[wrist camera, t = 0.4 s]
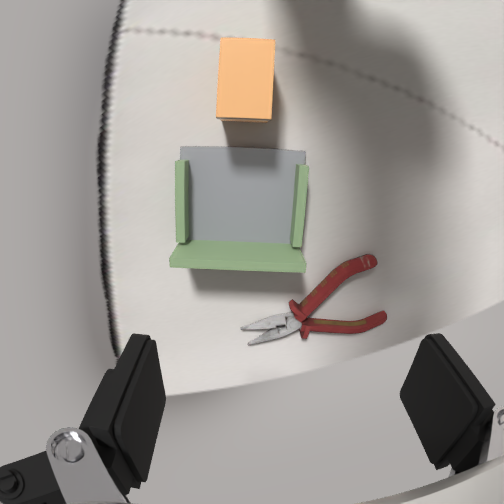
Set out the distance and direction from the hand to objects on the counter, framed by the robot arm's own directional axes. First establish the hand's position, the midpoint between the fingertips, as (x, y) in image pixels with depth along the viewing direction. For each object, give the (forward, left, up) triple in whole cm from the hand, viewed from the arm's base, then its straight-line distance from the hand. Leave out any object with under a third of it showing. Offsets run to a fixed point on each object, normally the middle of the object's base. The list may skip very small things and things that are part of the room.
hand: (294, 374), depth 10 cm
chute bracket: (0, -2, -28) cm, 28 cm away
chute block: (-13, -2, -28) cm, 31 cm away
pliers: (+13, +9, -29) cm, 33 cm away
